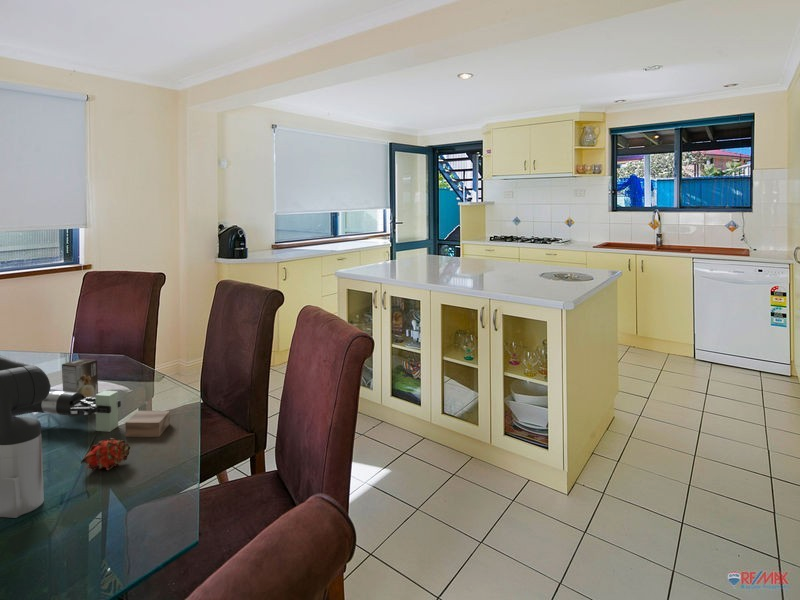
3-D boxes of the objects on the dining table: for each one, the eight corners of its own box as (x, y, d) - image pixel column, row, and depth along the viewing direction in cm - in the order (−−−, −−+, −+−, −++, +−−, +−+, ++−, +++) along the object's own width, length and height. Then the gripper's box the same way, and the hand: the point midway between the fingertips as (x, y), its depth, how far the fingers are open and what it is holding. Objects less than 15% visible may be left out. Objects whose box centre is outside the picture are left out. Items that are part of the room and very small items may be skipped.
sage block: (109, 431, 153) (109, 395, 151) (96, 430, 153) (95, 394, 151) (118, 426, 157) (117, 391, 156) (104, 425, 157) (104, 390, 156)
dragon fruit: (135, 466, 136) (86, 485, 128) (125, 442, 139) (77, 459, 132) (135, 451, 131) (85, 470, 123) (125, 426, 134) (75, 443, 126)
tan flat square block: (159, 437, 152) (159, 422, 151) (125, 437, 150) (125, 422, 150) (169, 424, 162) (169, 410, 161) (138, 424, 160) (138, 410, 160)
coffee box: (84, 399, 178) (83, 357, 176) (98, 401, 177) (98, 359, 175) (62, 407, 169) (61, 363, 167) (77, 410, 168) (76, 366, 166)
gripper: (46, 399, 147) (101, 403, 147) (78, 385, 161) (128, 388, 161) (47, 422, 148) (101, 426, 148) (78, 406, 162) (128, 409, 162)
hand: (115, 406), depth 154 cm, fingers closed on sage block, 4 cm apart
